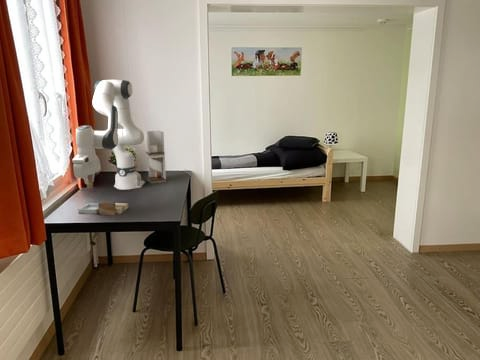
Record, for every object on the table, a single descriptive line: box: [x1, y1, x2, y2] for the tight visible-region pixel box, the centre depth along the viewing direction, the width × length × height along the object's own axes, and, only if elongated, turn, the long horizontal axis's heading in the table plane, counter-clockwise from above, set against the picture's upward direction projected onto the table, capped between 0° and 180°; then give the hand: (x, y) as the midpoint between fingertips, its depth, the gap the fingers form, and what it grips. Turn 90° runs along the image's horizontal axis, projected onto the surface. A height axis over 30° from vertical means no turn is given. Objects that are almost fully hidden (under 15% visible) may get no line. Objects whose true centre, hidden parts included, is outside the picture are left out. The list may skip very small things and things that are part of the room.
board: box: [98, 202, 129, 215], centre depth 203 cm, size 10×12×3 cm
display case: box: [144, 130, 167, 184], centre depth 264 cm, size 11×11×35 cm
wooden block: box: [97, 201, 117, 216], centre depth 196 cm, size 3×8×6 cm, turn 82°
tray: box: [77, 202, 99, 215], centre depth 202 cm, size 10×10×2 cm
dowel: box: [86, 174, 94, 190], centre depth 198 cm, size 3×3×8 cm
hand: (89, 182), depth 198 cm, fingers closed on dowel, 3 cm apart
